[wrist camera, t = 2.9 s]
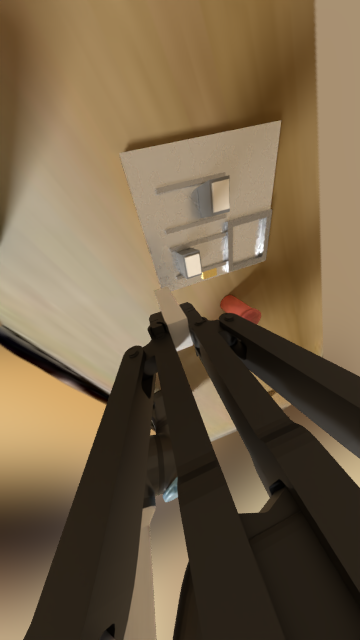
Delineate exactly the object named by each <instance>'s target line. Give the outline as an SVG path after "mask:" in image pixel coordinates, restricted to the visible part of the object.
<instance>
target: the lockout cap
mask: <svg viewBox="0 0 360 640" xmlns="http://www.w3.org/2000/svg"><path fill="white" fill-rule="evenodd" d="M220 306H221V308H222V309H223V310H224V311H225V312H226V313H234V314H237V315H239V316H241V317H243V318H245V319H247V320H249V321H251V322H253V323H255V324H258V322H259V321H260V318H261V313H260V311H258V310H257V309H255V308H251V307H249V306H248V305H246V304H245V303H243V302H242V301H240V300H239V299H237V298H236V297H234V296H232V295H228V296H226V297H224V298H223V300H222V301H221V305H220Z"/></svg>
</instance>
